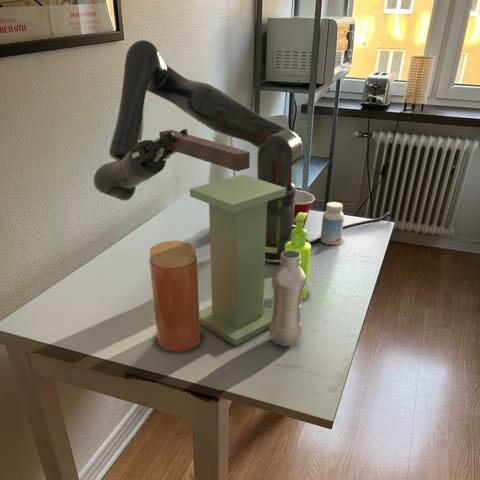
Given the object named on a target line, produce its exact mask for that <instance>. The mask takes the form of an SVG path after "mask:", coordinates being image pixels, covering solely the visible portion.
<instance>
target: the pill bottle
mask: <svg viewBox="0 0 480 480" xmlns="http://www.w3.org/2000/svg"><path fill="white" fill-rule="evenodd" d="M343 206H344V205H343V203H341V202H336V201H331V202H327V203H326V205H325V208H326V210H325V211H323V213H322V220H321V221H322V222H321V229H320V230H321V231H320V237H321V240H320V242H322V243H323V244H326V245H339V244H340V243H341V242H342V237H343V230H342V229H343V226H344V222H345V221H344V219H345V214H344V212H343V210H344V209H343V208H344V207H343Z"/></svg>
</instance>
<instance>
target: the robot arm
mask: <svg viewBox="0 0 480 480" xmlns="http://www.w3.org/2000/svg"><path fill="white" fill-rule="evenodd" d="M147 92H149V93H151V94H153V95H155V96H157V97H160V98H161V99H163V100H166V101H168V102H170V103H171V104H173V105H174V106H176V107H177V108H178V109H180V110H181V111H183V112H184V113H186V114H187V115H188V116H190V117H192V118H193V119H194V120H196V121H197V122H199V123H200V124H202V125H204V126H205V127H207V128H208V129H210V130H211V131H213V132H216V133H218V134H221V135H224V136H226V137H230V138H233V139H238V140H240V141H244V142H247V143H249V144H251V145H253V146H254V147H256V148H257V154H256V155H257V157H256V173H257V175H256V176H257V177H256V179H259V180H262V181H265V182H268V183H272V184H275V185H278V186H281V187H284V188H286V195H285V196H282V197H279V198H276V199H273V200H270V201H267V216H266V242H265V263H268V264H280V259H281V253H282V252H283V251H285V244H286V243H287V242H289V241H291V233H292V230H293V229H295V228H296V226H295V225H294V224H293V221H294V206H295V193H296V190H297V189H296V186H295V184H294V183H292V180H293V179H292V177H293V167H294V166H295V165H296V164H297V163H298V162H299V161H300V160H301V159H302V157H303V154H304V145H303V142H302V141H301V138H300V137H299V136H298V134H296V133H295V132H294V131H292V130H291V129H289V128H287V127H284V126H282V125H280V124H277V123H276V122H273V121H271V120H269V119H267V118H265V117H263V116H261V115H259V114H258V113H257V112H255V111H253V110H252V109H251V108H249V107H247V106H246V105H244V104H242V103H241V102H239V101H237V100H236V99H235V98H233V97H232V96H230V95H229V94H227V93H226V92H224V91H222V90H221V89H219V88H217V87H216V86H213V85H212V84H210V83H206V82H202V81H197V80H192V79H189V78H186V77H185V76H183V75H181V74H180V73H178V72H177V71H176V70H174V69H173V68H172V67H170V66H169V65H168V64H167V63H166V61H165V60H164V58H163V57H162V54H161V52H160V50H159V49H158V48H157V46H156V45H155V44H154V43H152V42H151V41H149V40H145V39H141V40H137V41H135V42H133V43H132V44H131V45H130V46H129V48H128V49H127V52H126V55H125V61H124V71H123V81H122V88H121V96H120V103H119V109H118V113H117V119H116V122H115V123H116V124H115V127H114V130H113V134H112V138H111V141H110V145H109V151H108V153H109V156H110V157H111V158H112V159H113V160H114V161H110V162H107V163H104V164H102V165H101V166H100V167H98V169H97V170H95V171H96V172H95V173H94V174H93V185H94V188H95V189H96V190H97V191H98V192H100V193H101V194H104V195H107V196H109V197H112V198H114V199H118V200H120V201H124V202H126V201H129V200H131V199H132V198H133V196H134V195H135V192H136V188H137V186H139V185H140V184H142V183H144V182H146V181H149V180H150V179H152V178H153V177H155V176H156V175H158V174H159V173H160V172H162V171H163V170H164V168H165V166H166V165H167V160H168V159H170V158H171V156H173V155H175V154H177V152H176V151H173V150H170V149H166V148H168V147H169V146H170V145H172V144H173V143H174V142H175V139H174V136H173V133H172V132H168V133H166V134H165V135H164V136H163V137H161V138H160V137H157V138H156V139H152V140H151V139H144V140H142V138H143V133H144V115H145V114H144V111H145V101H146V95H147ZM179 132H181V133H184V134H188V135H190V133H189V131H188V129H187V128H183V129H181V130H180V131H179ZM387 217H390V218H391V217H393V216H392V214H391V213H390V212H386V213H384V215H383V216H381V217H379V218H374V219H369V220H363V221H358V222H354V223H350V224H346V225H343V229H342V231H343V230H347V229H350V228H354V227H358V226H363V225H369V224H373V223H379V222H381V221H383V220H385V219H386V218H387ZM306 242H307V243H309V244H310V245H313V244H316V243H319V242H321V236H319V237H318V238H315V239H313V240H309V239H308V238H307V237H306Z"/></svg>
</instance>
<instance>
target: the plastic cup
mask: <svg viewBox="0 0 480 480" xmlns="http://www.w3.org/2000/svg"><path fill="white" fill-rule="evenodd" d="M315 200H316V198H315V195H313V194H312V193H310V192H308V191H305V190H300V189H296V193H295V206H294V221H293V224H294V225H295V226H296V222H295V218H296V216H297V214H298V213H299V212H302V213H308V215H307V216H306V218H305V220H304V224H303V229H304V230H305V227H306V223H307V220H308V217H309V213H310V209H311V207H312V204H313V202H314V201H315Z"/></svg>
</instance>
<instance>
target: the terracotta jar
mask: <svg viewBox="0 0 480 480" xmlns="http://www.w3.org/2000/svg"><path fill="white" fill-rule="evenodd" d="M196 251H197V250H196V246H195V245H194V244H191V243H190V242H187V241H183V240H167V241H161V242H159V243H156V244H154V245H153V246H152V247H151V248H150V249H149V259H148V260H149V269H150V271H149V272H150V279H151V290H152V299H153V308H154V319H155V330H156V338H157V343H158V345H159V346H160V347H161V348H162V349H164V350H166V351H170V352H186V351H188V350H191V349H194V348H195V347H196V346H197V345H199V344H200V342H201V324H200V315H199V311H200V299H199V298H200V297H199V295H200V294H199V273H198V272H199V271H198V256H197V253H196Z"/></svg>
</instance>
